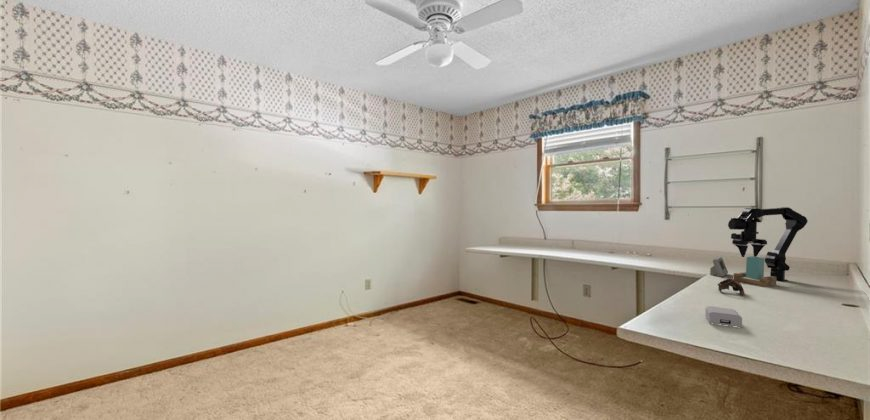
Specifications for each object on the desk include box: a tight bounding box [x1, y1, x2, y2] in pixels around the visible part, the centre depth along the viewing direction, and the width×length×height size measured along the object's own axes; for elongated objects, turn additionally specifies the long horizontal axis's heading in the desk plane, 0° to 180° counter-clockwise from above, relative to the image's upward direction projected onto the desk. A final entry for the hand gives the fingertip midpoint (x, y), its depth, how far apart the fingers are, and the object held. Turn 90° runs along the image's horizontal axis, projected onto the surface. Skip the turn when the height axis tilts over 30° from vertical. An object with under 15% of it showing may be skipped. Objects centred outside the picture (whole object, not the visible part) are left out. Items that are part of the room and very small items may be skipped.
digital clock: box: [709, 256, 729, 278], centre depth 223 cm, size 16×9×11 cm, turn 121°
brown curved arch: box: [717, 278, 746, 297], centre depth 178 cm, size 12×10×8 cm
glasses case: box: [745, 255, 765, 280], centre depth 201 cm, size 6×6×12 cm
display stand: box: [733, 271, 777, 288], centre depth 201 cm, size 12×14×4 cm
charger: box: [705, 305, 743, 328], centre depth 136 cm, size 5×9×15 cm
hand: (749, 256), depth 211 cm, fingers open, 9 cm apart
